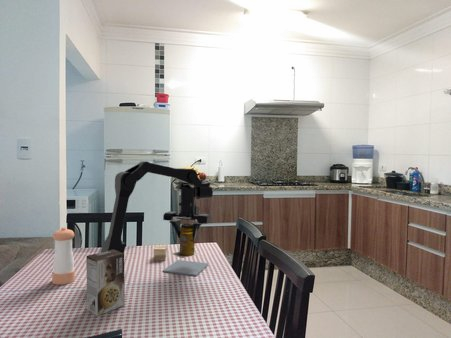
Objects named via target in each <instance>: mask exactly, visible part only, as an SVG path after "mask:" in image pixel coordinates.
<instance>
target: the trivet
mask: <svg viewBox="0 0 451 338" xmlns="http://www.w3.org/2000/svg"><path fill="white" fill-rule="evenodd" d="M208 264H210V263H209V262H208V263H207V262H199V261H190V260H184V259H182V260H181V259H177V260H175V261H174V262H173V263H171V264H170V265H169V266H167V267H166V268H164V269H162V272H163V273H169V274H176V275H177V274H178V275H184V276H190V277H191V276H192V277H197V276H198V275H200V274H201V273H202V272H203V271H204V270H203V269H204V268H205V267H206V266H207V267H208V266H209V265H208ZM207 267H206V268H207ZM206 268H205V269H206Z"/></svg>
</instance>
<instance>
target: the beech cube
mask: <svg viewBox="0 0 451 338" xmlns="http://www.w3.org/2000/svg"><path fill="white" fill-rule="evenodd" d="M167 247H168V245H155V246H154V248H153V261H166V258H167V249H168V248H167Z"/></svg>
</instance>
